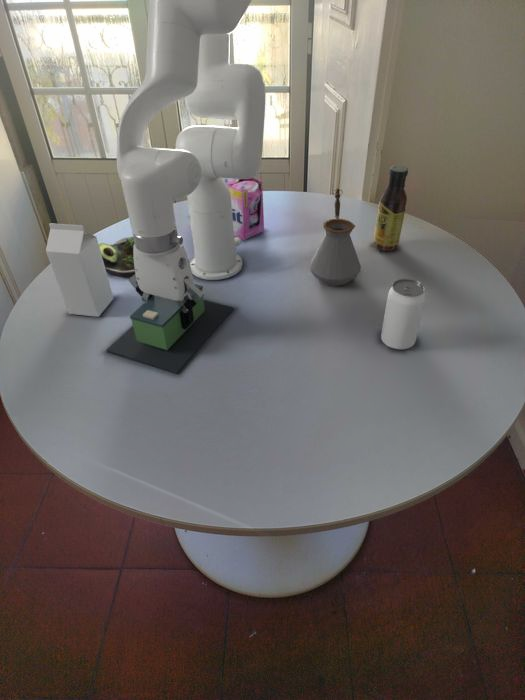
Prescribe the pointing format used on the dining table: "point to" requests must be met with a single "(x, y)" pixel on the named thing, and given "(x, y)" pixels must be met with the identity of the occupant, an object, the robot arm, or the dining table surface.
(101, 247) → the salad plate
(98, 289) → the milk carton
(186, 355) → the placemat
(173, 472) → the dining table surface
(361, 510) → the dining table surface
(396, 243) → the sauce bottle
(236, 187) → the gum box
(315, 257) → the coffee pot
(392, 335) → the can
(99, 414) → the dining table surface
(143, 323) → the box
